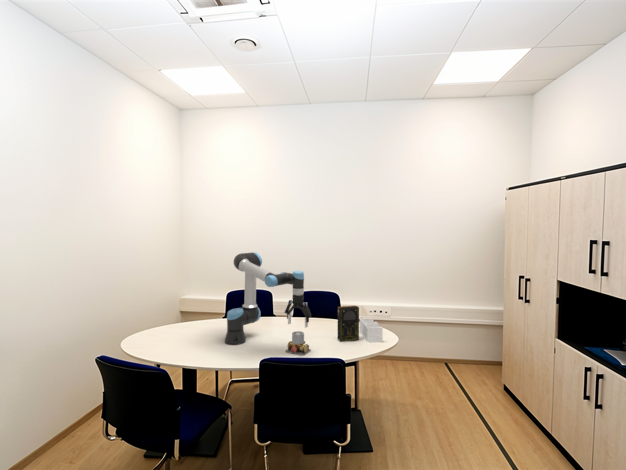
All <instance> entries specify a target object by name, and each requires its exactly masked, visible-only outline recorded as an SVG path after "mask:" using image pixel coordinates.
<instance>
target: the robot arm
mask: <svg viewBox="0 0 626 470" xmlns="http://www.w3.org/2000/svg"><path fill="white" fill-rule="evenodd" d="M262 263H263V259H262V257H261V255H260V254H259V253H258V252H253V251H252V252H244V253H243V252H242V253H238V254H236V256H235V257H234V259H233V266H234V267H235V269H236V270H238V271H240V272H241V273H243V272H244V301H243V302H244V303H243V304H242V305H241V306H242V307H237V308H232V309H230V310H228V311H227V313H226V322H227V323H226V325H227V326H226V328H227V331H226V334H225V338H224V343H225V344H226V345H233V346H234V345H241V344H245V342H246V341H247V336H246V335H245V330H244V326H246V325H250V324H254V323H256V322H258V321H259V320H260V319H261V313H262V312H261V310H260V308H259V307H258V304H257V279H259V280H260V281H262V282H264V284H265V285H266V286H267V287H268V288H274V287H278V286H283V285H292V299H290V300H288V303H287V306H286V307H285V310H284V314H286V319H287V325H291V324H292V314H291V313H292V312H293V310H294V309H300V310H301V312H302V313H303V315H304V328H308V327H309V322H310V317H312V316H313V315H312V313H311V310H310V308H309V305H308V303H309V302H308V301H307V302H304V299H305V298H304V296H305V295H304V293H305V291H304V290H305V285H304V284H305V276H304V275H305V273H304V271H302V270H294V271H292V273H290V272H286V271H285V272H283V271H282V272H280V273H277V274H275V273H272V272H271V271H268V269H265V268H263V267H261V266H262V265H263V264H262Z"/></svg>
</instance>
